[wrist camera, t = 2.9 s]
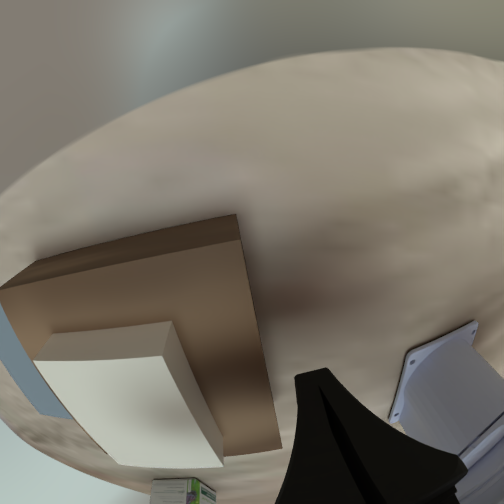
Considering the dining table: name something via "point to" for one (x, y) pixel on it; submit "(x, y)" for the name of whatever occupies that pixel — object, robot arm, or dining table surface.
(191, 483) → the syrup box
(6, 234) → the dining table surface
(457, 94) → the dining table surface
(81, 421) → the tile
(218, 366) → the block
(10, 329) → the mat
